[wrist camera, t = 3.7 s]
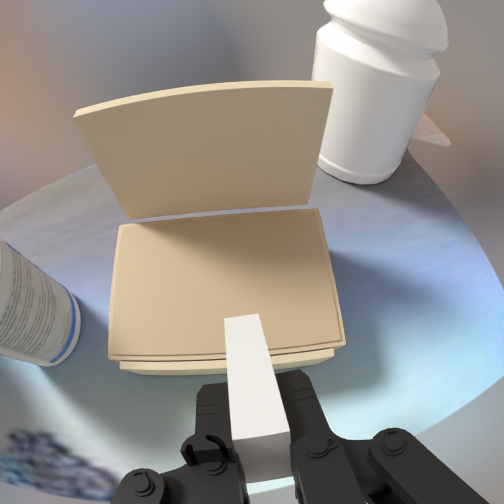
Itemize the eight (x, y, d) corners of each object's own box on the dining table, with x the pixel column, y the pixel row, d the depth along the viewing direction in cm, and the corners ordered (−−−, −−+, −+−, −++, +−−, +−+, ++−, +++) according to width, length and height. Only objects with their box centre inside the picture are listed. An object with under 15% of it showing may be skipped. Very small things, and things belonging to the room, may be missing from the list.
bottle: (414, 178, 36) (496, 0, 11) (329, 197, 34) (392, -49, 9) (365, 115, 42) (404, -42, 17) (286, 124, 40) (301, -65, 15)
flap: (128, 219, 25) (73, 117, 15) (130, 210, 26) (77, 108, 15) (307, 204, 26) (333, 88, 15) (305, 195, 26) (329, 80, 16)
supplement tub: (77, 275, 29) (-2, 200, 16) (92, 356, 25) (-11, 313, 12) (19, 301, 28) (-63, 245, 15) (28, 376, 24) (-71, 344, 11)
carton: (135, 374, 25) (106, 367, 19) (139, 254, 31) (118, 224, 25) (328, 362, 26) (348, 353, 20) (308, 241, 31) (318, 207, 26)
